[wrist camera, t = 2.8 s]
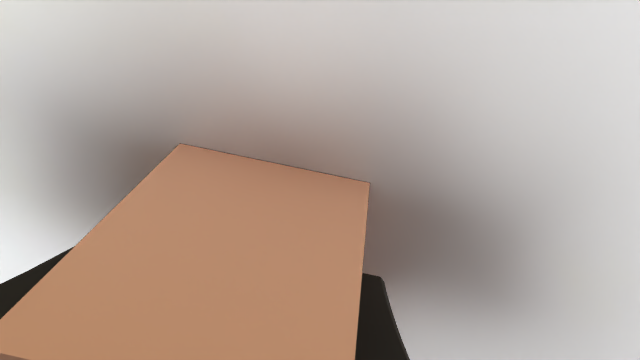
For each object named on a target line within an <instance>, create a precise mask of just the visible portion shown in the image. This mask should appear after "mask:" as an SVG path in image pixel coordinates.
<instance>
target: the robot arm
mask: <svg viewBox="0 0 640 360" xmlns="http://www.w3.org/2000/svg"><path fill="white" fill-rule="evenodd" d="M74 247H75V246H74ZM74 247H72V248H71V249H69V250H67V251H65V252H63V253H61V254H59V255H57V256H55V257H53V258H52V259H50V260H48V261H46V262H44V263H42V264H40V265H38V266H36V267H34V268H32V269H30V270H29V271H27V272H25V273H22V274H20V275H18V276H16V277H14V278H12V279H10V280H8V281H6V282H4V283H2V284H0V319H1V318H2V317H3V316H4V315H5V314H6V313H7V312H9V311H10V310H11V309H12V308H13V307H14V306H15V305H16V304H17V303H18V302H19V301H20V300H21V299H22V298H23V297H24V296H25V295H26V294H27V293H28V292H29V291H30V290H31V289H32V288H33V287H34V286H35V285H36V284H37V283H38V282H39V281H40V280H41V279H42V278H43V277H44V276H45V275H46V274H47V273H48V272H49V271H50V270H51V269H52V268H53V267H54V266H55V265H56V264H57V263H58V262H59V261H61V260H62V259H63V258H64V257H65V256H66V255H67V254H68V253H69V252H70V251H71V250H72V249H73V248H74ZM355 360H410V359H409V357H408V354H407V352H406V349H405V347H404V344H403V342H402V339H401V336H400V334H399V331H398V328H397V325H396V322H395V319H394V316H393V313H392V310H391V307H390V303H389V300H388V296H387V292H386V288H385V284H384V281H383V280H382V278H381V277H378V276H374V275H369V274H364V273H362V281H361V292H360V304H359V316H358V327H357V339H356V351H355Z"/></svg>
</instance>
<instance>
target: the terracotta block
mask: <svg viewBox="0 0 640 360" xmlns="http://www.w3.org/2000/svg"><path fill="white" fill-rule="evenodd" d="M369 187H370V183H368V182H363V181H358V180H353V179H348V178H343V177H339V176H334V175H329V174H324V173H319V172H315V171H310V170H305V169H300V168H295V167H291V166H286V165H281V164H276V163H271V162H267V161H262V160H257V159H252V158H247V157H242V156H238V155H233V154H228V153H223V152H218V151H214V150H209V149H204V148H199V147H194V146H190V145H185V144H179V145H178V146H177V147H176V148H175V149H174V150H173V151H172V152H171V153H170V154H169V155H168V156H167V157H166V158H165V159H163V160H162V161H161V162H160V163H159V164H158V165H157V166H156V167H155V168H154V169H153V170H152V171H151V172H150V173H149V174H148V175H147V176H146V177H145V178H144V179H143V180H142V181H141V182H140V183H139V184H138V185H137V186H136V187H135V188H134V189H133V190H132V191H131V192H130V193H129V194H128V195H127V196H126V197H125V198H124V199H123V200H122V201H121V202H120V203H119V204H118V205H117V206H116V207H115V208H114V209H113V210H111V211H110V212H109V213H108V214H107V215H106V216H105V217H104V218H103V219H102V220H101V221H100V222H99V223H98V224H97V225H96V226H95V227H94V228H93V229H92V230H91V231H90V232H89V233H88V234H87V235H86V236H85V237H84V238H83V239H82V240H81V241H80V242H79V243H78V244H77V245H76V246H75V247H74V248H73V249H72V250H71V251H70V252H69V253H68V254H67V255H66V256H65V257H64V258H63V259H62V260H61V261H59V262H58V263H57V264H56V265H55V266H54V267H53V268H52V269H51V270H50V271H49V272H48V273H47V274H46V275H45V276H44V277H43V278H42V279H41V280H40V281H39V282H38V283H37V284H36V285H35V286H34V287H33V288H32V289H31V290H30V291H29V292H28V293H27V294H26V295H25V296H24V297H23V298H22V299H21V300H20V301H19V302H18V303H17V304H16V305H15V306H14V307H13V308H12V309H11V310H10V311H9V312H7V313H6V314H5V315H4V316H3V317H2V318H1V319H0V360H355V351H356V339H357V327H358V316H359V304H360V292H361V281H362V269H363V257H364V246H365V234H366V222H367V211H368V199H369Z"/></svg>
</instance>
